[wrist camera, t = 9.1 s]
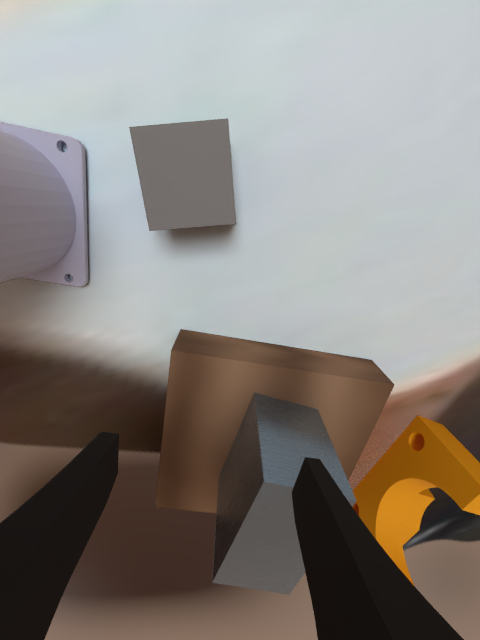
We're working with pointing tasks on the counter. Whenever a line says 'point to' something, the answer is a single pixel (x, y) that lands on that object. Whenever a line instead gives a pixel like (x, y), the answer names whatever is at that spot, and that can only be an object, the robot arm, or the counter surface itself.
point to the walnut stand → (235, 396)
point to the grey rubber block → (185, 173)
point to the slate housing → (268, 494)
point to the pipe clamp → (415, 484)
